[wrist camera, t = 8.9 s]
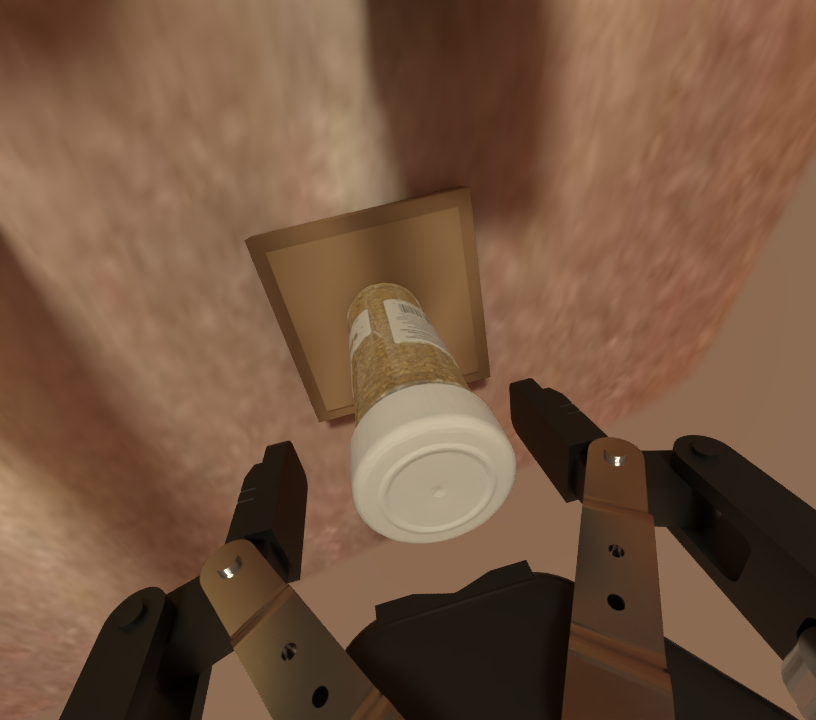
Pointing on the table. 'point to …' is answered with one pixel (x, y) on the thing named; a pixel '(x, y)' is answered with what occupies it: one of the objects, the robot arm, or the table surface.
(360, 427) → the sprinkles bottle
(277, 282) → the brown rectangular tray
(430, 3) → the table surface
